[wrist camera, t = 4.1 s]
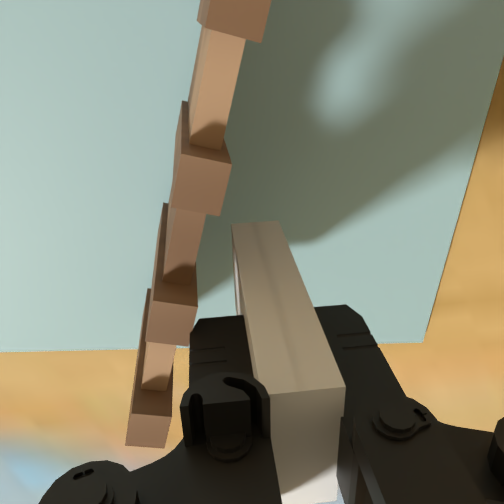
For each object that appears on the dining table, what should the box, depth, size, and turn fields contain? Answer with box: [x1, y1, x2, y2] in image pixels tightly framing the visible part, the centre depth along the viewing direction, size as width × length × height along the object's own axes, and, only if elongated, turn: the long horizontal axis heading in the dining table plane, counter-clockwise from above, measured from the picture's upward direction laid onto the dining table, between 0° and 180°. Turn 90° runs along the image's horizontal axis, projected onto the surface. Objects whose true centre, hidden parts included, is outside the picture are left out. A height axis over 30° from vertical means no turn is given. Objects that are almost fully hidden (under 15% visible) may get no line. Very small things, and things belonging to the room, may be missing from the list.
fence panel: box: [125, 0, 272, 448], centre depth 11 cm, size 11×1×5 cm, turn 166°
